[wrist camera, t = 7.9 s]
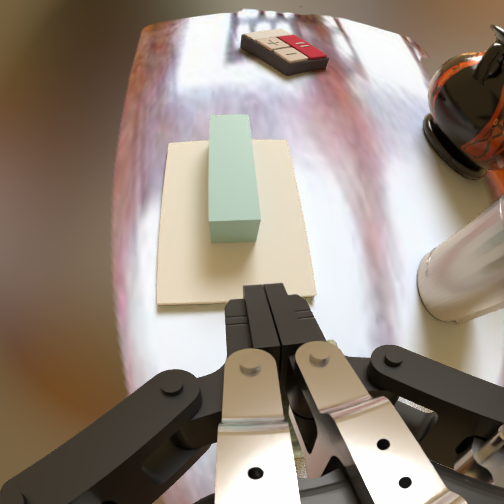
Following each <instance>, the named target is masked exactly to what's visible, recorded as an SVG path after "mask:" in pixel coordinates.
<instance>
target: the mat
mask: <svg viewBox="0 0 504 504" xmlns="http://www.w3.org/2000/svg"><path fill="white" fill-rule="evenodd" d="M252 147H253V155H254V164H255V172H256V180H257V189H258V198H259V206H260V215H261V222H260V226H259V231H258V235H257V240H256V242H235V243H212V244H211V237H210V229H209V205H208V176H209V141H192V142H178V143H169V147H168V154H167V161H166V169H165V177H164V186H163V195H162V206H161V217H160V230H159V246H158V267H157V304H158V305H188V304H214V303H228V302H229V300H230V299H243V285H258V284H262V285H263V284H271V283H283V285H284V287H285V289H286V292H287V294H288V295H293V294H298V295H299V296H300V297H302V298H304V297H314V296H315V295H317V294H316V287H315V281H314V274H313V268H312V262H311V256H310V250H309V245H308V239H307V234H306V228H305V223H304V218H303V212H302V207H301V202H300V197H299V192H298V188H297V183H296V178H295V174H294V169H293V165H292V160H291V156H290V151H289V147H288V143H287V140H252Z"/></svg>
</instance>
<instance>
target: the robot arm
mask: <svg viewBox="0 0 504 504" xmlns="http://www.w3.org/2000/svg"><path fill="white" fill-rule="evenodd" d="M417 280H418V288H419V292H420V296H421V298H422V301H423V303H424V305H425V307H426V308H427V310H428V311H429V312H430V313H431V314H432V315H433V316H434V317H435V318H437V319H439V320H441V321H446V322H448V321H456V322H457V323H462V322H465V321H468V320H471V319H474V318H477V317H480V316H483V315H485V314H488V313H491V312H493V311H496V310H499V309H501V308H504V194H503V195H502V196H501V197H500V198H499V199H497V200H496V201H495V202H494V203H493V204H492V205H490V206H489V207H488V208H487V209H486V210H484V211H483V212H482V213H481V214H480V215H478V216H477V217H476V218H475V219H473V220H472V221H471V222H470V223H468V224H467V225H466V226H464V227H463V228H462V229H461V230H459V231H458V232H457V233H455V234H454V235H453V236H451V237H450V238H449V239H447V240H446V241H445V242H443V243H442V244H441V245H439V246H438V247H436V248H434V249H433V250H432V251H431V252H430V253H428V254H427V255H425V257H424V258H423V259H422V261H421V263H420V265H419V269H418V278H417ZM225 324H226V343H227V359H226V361H225V363H224V365H223V366H222V367H221V368H220V369H219V370H217V371H216V372H214V373H212V374H209V375H206V376H202V377H199V378H196V377H195V376H194V375H193V374H191V373H189V372H187V371H184V370H179V369H173V370H166V371H163V372H161V373H159V374H157V375H156V376H154V377H153V378H152V379H150V380H149V381H148V382H147V383H145V384H144V385H143V386H141V387H140V388H139V389H137V390H136V391H135V392H134V393H132V394H131V395H130V396H128V397H127V398H126V399H124V400H123V401H122V402H120V403H119V404H118V405H116V406H115V407H114V408H112V409H111V410H110V411H108V412H107V413H106V414H104V415H103V416H102V417H100V418H99V419H98V420H96V421H95V422H94V423H92V424H91V425H90V426H88V427H87V428H85V429H84V430H82V431H81V432H80V433H78V434H77V435H75V436H74V437H73V438H71V439H70V440H68V441H67V442H66V443H64V444H63V445H61V446H60V447H58V448H57V449H55V450H54V451H52V452H51V453H50V454H48V455H47V456H45V457H44V458H42V459H41V460H39V461H38V462H36V463H35V464H33V465H32V466H30V467H29V468H27V469H26V470H24V471H22V472H21V473H20V474H18V475H16V476H15V477H13V478H12V479H10V480H8V481H7V482H6V483H5V484H4V485H3V486H2V488H1V491H0V504H152V503H153V502H154V501H155V500H157V499H158V498H159V497H160V496H161V495H162V494H163V493H164V492H165V491H167V490H168V489H169V488H170V487H171V486H172V485H173V484H174V483H175V482H176V481H177V480H178V479H179V478H180V477H181V476H182V475H183V474H184V473H185V472H186V471H187V470H188V469H189V468H190V467H191V466H192V465H193V464H194V463H195V462H196V461H197V460H198V459H199V458H200V457H201V456H202V455H203V454H204V453H205V452H206V451H207V450H208V449H209V448H210V446H211V444H213V443H216V442H217V458H216V481H215V493H213V494H211V495H208V496H206V497H204V498H202V499H200V500H199V501H197V502H195V503H194V504H504V388H503V387H501V386H498V385H495V384H493V383H490V382H487V381H485V380H482V379H479V378H477V377H474V376H472V375H469V374H466V373H464V372H461V371H459V370H456V369H454V368H451V367H448V366H446V365H443V364H441V363H438V362H436V361H433V360H431V359H428V358H426V357H424V356H421V355H419V354H416V353H414V352H411V351H409V350H407V349H404V348H402V347H399V346H395V345H383V346H380V347H378V348H376V349H375V350H374V351H373V353H372V355H371V358H360V357H348V356H344V354H343V353H342V351H341V350H340V349H339V348H338V347H337V346H335V345H333V344H331V343H328V342H327V341H326V339H325V337H324V335H323V333H322V331H321V329H320V327H319V325H318V323H317V321H316V319H315V318H314V316H313V314H312V312H311V311H310V308H309V306H308V304H307V302H306V300H304V299H303V298H302V297H300V296H299V295H298V294H293V295H288V294H287V292H286V289H285V287H284V285H283V283H271V284H263V285H262V284H258V285H243V299H230V300H229V302H228V303H227V305H226V306H225ZM284 395H288V399H289V416H290V419H291V422H292V425H293V427H294V430H295V433H296V435H297V438H298V441H299V444H300V446H301V449H302V452H303V454H304V457H305V462H306V473H307V477H308V479H303V478H296V471H295V464H294V457H293V450H292V443H291V437H290V430H289V425H288V422H287V420H284V415H283V408H282V401H281V396H284ZM399 397H403V398H405V399H407V400H409V401H412V402H414V403H416V404H418V405H421V406H423V407H425V408H428V409H430V410H432V411H434V412H432V413H425V412H422V411H420V410H418V409H415V408H413V407H411V406H408V405H406V404H404V403H402V402H400V401H397V400H398V398H399ZM431 460H432V461H431ZM433 461H434V462H433ZM435 462H437V463H435ZM438 463H439V464H438ZM440 464H442V465H444V466H442V465H440ZM445 466H448V467H450V468H453V469H454V470H452V469H449V468H447V467H445Z"/></svg>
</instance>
